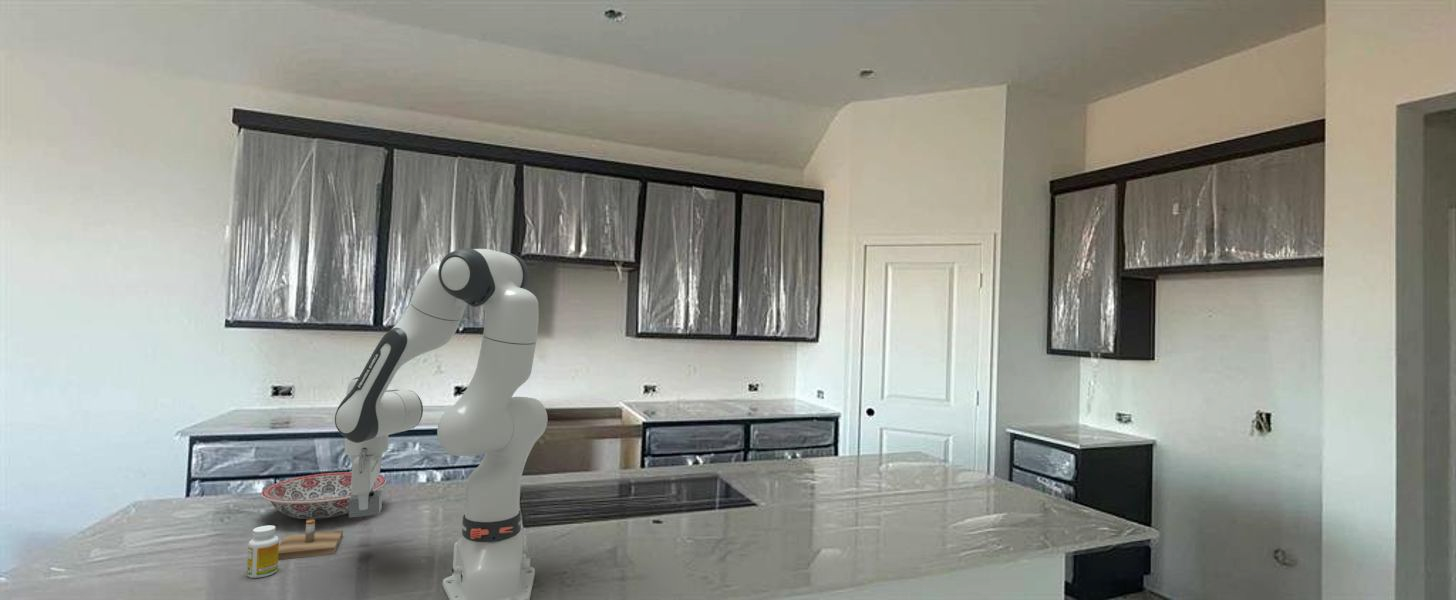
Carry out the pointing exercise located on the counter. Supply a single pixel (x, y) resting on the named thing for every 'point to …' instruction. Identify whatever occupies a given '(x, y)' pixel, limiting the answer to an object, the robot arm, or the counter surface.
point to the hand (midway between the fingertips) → (365, 504)
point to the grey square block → (373, 507)
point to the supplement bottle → (263, 552)
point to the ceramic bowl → (314, 495)
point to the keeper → (309, 543)
